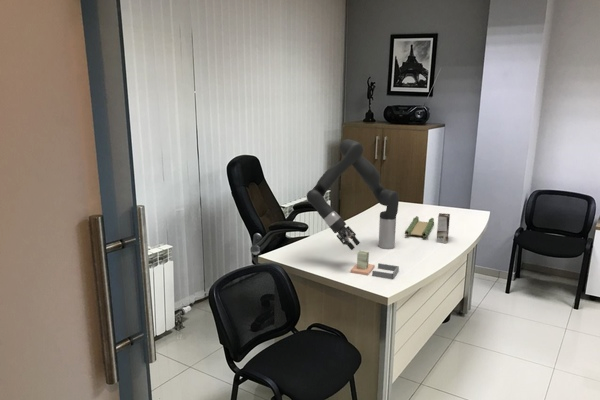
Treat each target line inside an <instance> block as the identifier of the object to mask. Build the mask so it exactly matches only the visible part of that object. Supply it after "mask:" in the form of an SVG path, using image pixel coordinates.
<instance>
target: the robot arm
mask: <svg viewBox="0 0 600 400" xmlns="http://www.w3.org/2000/svg"><path fill="white" fill-rule="evenodd" d="M339 151H340V153H341V155H342V156H343V158H341V160H340V161H339V162H337V163H336V164H334V165H333V166H330V167H329V168H328V169H327V170H326V171H325V172H324V173H323V174H322V176H321V177H319V179H318V180H317V182H316V184H315V186H314V187H313V188H312V189H311V190H309V191H308V192H307V193H306V200H307V202H308V204H310V205H311V206H312V207H313V208H314V209H315V210H316V211H317V213H318V215H319V216H320V217H321V218H322V219H323V221H324V222H325V224H326V225H327V226H328V227H329V228H330V230H331V231H332V232H333V233H334V234H336V237H337V238H338V239H337V240H339V241H340V242H341V243H342V245H343V246H344V245H346V246H347V247H348V248H349V249H350V251H353V250H354V249H355V248H356V246H358V245H360V243H361V242H360V240H359V239H358V238H357V237H356V233H355V231H354V230H353V229H352V228H351V227H350V226H349V225H348V226H346V225H347V223H346V222H345V221H344V219H343V218H342V217H341V216H340V214H338V213H337V212H336V211H335V210H334V208H333V207H332V206H331V205H330V204H329V203H328V202H327V201H326V199H325V198H324V196H325V195H326V194H327V192H328V190H330V188H331V187H332V186H333V185H334V183H335V182H337V180H338V179H339V177H340V176H342V174H343V173H344V172H346V170H347V171H348V169H349V168H350V167H351V166H352V167H353V168H354V169H355V171H356V173H357V174H358V175H359V176H360V178H361V179H362V180H363V182H364V184H366V186H367V187H368V188H369V190H370V191H371V193H372V194H373V196H374V198H375V199H376V200H377V202H378V204H380V205H381V206H384V207H386V208H385V210H384V211H380V213H379V222H378V223H379V227H378V230H379V232H378V248H381V249H384V250H385V249H386V250H389V249H390V250H391V249H394V248H395V246H396V245H395V244H396V243H395V242H396V229H397V228H396V226H397V224H396V223H397V214H398V211H399V202H400V196H399V193H398V192H397V191H394V190H390V189H386V187H384V186H383V184H382V182H381V174H380V172H379V170H378V169H377V168H376V167H375V165H373V164H372V163H371V162H370V160H368V159H367V158H365V156H363V152H364V146H363V145H362V143H361V142H358V141H356V140H354V139H353V140H352V139H348V138H347V139H344V140H342V141H341V142H340V146H339ZM350 240H351V241H352V242H353V243H354V244H355V245H356V246H354V244H353V243H352V242H351V241H350Z"/></svg>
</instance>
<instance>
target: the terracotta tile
mask: <svg viewBox="0 0 600 400" xmlns="http://www.w3.org/2000/svg"><path fill="white" fill-rule="evenodd" d="M375 266H376V265H375V264H371V263H368V268H367V269H366V270H364V269H358V268H357V263H355V265H353V267H352V268H351V269H350V271H349V273H352V274H359V275H364V276H368V275H370V274H371V273H372V271H374V269H375Z"/></svg>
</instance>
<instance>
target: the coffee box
mask: <svg viewBox="0 0 600 400" xmlns="http://www.w3.org/2000/svg"><path fill="white" fill-rule="evenodd" d="M450 215H451V213H439V214H438V216H437V218H438V219H437V228H436V242H435V243H440V244H447V243H448V240H449V233H450V232H449V230H450V218H451V216H450Z"/></svg>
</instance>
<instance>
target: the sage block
mask: <svg viewBox="0 0 600 400" xmlns="http://www.w3.org/2000/svg"><path fill="white" fill-rule="evenodd" d="M369 256H370V251H366V250H359V251H358V252H357V255H356V258H357V259H356V264H357V268H358V269H364V270H366V269H367V268H368V264H369Z"/></svg>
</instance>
